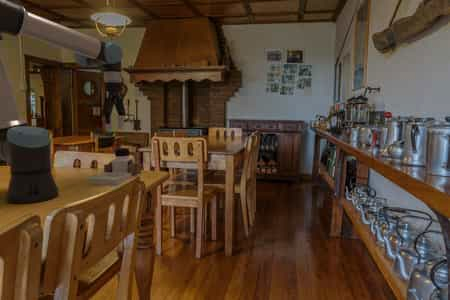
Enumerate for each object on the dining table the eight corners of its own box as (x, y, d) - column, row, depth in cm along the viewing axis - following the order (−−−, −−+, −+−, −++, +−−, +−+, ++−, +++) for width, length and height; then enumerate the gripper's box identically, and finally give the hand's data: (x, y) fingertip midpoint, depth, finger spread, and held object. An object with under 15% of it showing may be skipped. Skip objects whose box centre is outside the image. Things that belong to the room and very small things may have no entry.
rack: (130, 177, 140) (130, 166, 140) (104, 176, 143) (103, 165, 142) (141, 172, 150) (140, 162, 149) (116, 171, 153) (116, 161, 152)
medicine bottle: (128, 176, 143) (127, 149, 141) (112, 176, 143) (111, 149, 141) (133, 173, 150) (132, 147, 148) (118, 173, 150) (117, 147, 149)
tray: (116, 185, 126) (116, 179, 126) (88, 183, 128) (88, 178, 128) (131, 178, 138) (131, 173, 137) (105, 177, 140) (105, 172, 140)
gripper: (109, 79, 131) (112, 132, 133) (131, 84, 155) (132, 128, 158) (91, 79, 131) (94, 132, 134) (115, 84, 156) (117, 128, 159)
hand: (115, 130), depth 146 cm, fingers open, 13 cm apart
